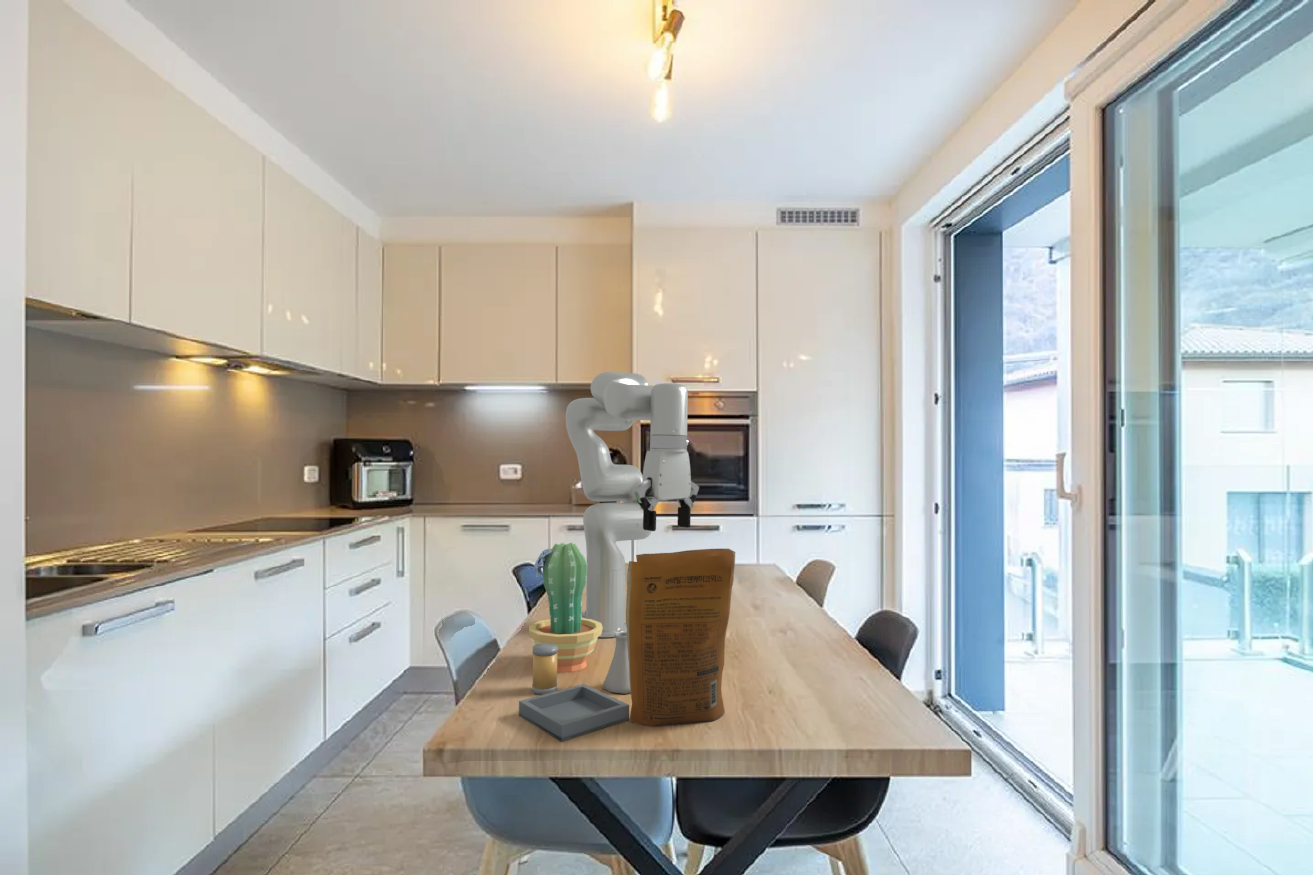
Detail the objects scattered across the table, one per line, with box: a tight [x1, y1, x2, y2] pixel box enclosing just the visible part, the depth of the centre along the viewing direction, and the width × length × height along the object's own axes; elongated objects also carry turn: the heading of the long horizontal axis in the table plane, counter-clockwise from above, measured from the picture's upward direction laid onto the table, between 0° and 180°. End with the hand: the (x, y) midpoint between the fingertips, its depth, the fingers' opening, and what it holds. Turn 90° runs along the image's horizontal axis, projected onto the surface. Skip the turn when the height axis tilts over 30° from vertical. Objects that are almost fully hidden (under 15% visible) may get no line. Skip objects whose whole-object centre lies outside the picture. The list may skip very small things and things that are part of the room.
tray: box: [518, 683, 630, 743], centre depth 108 cm, size 13×13×2 cm
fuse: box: [531, 643, 558, 696], centre depth 121 cm, size 5×5×8 cm
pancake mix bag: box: [625, 548, 736, 727], centre depth 108 cm, size 7×19×28 cm, turn 104°
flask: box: [602, 632, 631, 695], centre depth 123 cm, size 7×7×10 cm
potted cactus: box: [528, 542, 603, 673], centre depth 136 cm, size 15×15×25 cm
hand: (667, 528), depth 133 cm, fingers open, 9 cm apart
